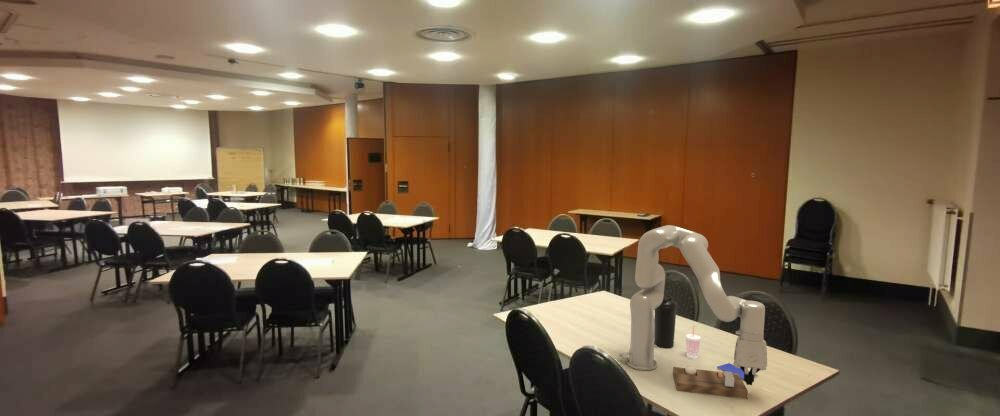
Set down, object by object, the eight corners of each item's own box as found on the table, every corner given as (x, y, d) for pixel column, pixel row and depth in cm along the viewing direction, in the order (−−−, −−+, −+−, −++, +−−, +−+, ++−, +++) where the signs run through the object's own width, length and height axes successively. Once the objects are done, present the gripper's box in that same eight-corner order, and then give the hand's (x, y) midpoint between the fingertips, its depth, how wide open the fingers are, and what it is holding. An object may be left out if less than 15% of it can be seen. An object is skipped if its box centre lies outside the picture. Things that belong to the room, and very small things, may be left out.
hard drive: (757, 374, 183) (729, 362, 194) (744, 378, 180) (716, 366, 191) (757, 378, 184) (729, 366, 195) (744, 382, 180) (716, 370, 191)
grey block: (724, 386, 169) (725, 377, 169) (722, 379, 174) (722, 371, 174) (733, 387, 168) (734, 378, 168) (730, 380, 173) (731, 372, 173)
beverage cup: (702, 358, 201) (704, 327, 200) (691, 360, 199) (693, 328, 198) (692, 352, 207) (694, 322, 205) (681, 354, 205) (683, 324, 203)
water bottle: (679, 344, 216) (681, 296, 213) (670, 351, 208) (672, 301, 206) (658, 338, 222) (659, 292, 220) (648, 345, 215) (650, 297, 213)
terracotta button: (718, 383, 177) (719, 376, 176) (716, 378, 181) (717, 371, 180) (730, 384, 176) (730, 377, 175) (727, 379, 180) (728, 372, 179)
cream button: (685, 376, 180) (686, 369, 179) (684, 371, 184) (684, 364, 183) (696, 377, 179) (697, 370, 178) (695, 373, 183) (695, 365, 182)
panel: (677, 390, 173) (677, 382, 172) (673, 373, 186) (673, 366, 186) (747, 399, 167) (748, 391, 166) (738, 381, 180) (738, 373, 180)
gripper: (731, 337, 166) (728, 385, 168) (777, 341, 162) (774, 391, 164) (726, 329, 173) (724, 376, 175) (771, 333, 169) (768, 381, 171)
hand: (748, 383), depth 169 cm, fingers closed
